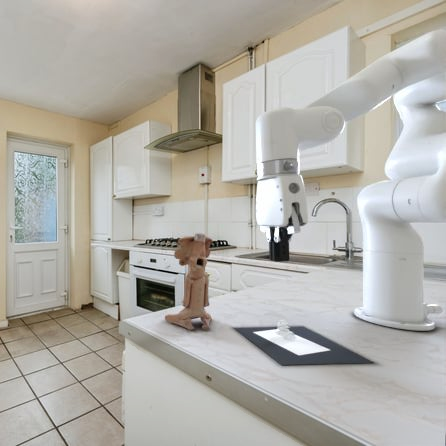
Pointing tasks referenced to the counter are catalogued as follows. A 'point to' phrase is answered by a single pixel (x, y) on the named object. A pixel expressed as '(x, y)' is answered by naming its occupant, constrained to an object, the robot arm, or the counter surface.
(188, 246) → the figurine
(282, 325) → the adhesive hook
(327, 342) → the centre mat
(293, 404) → the counter surface
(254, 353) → the counter surface
